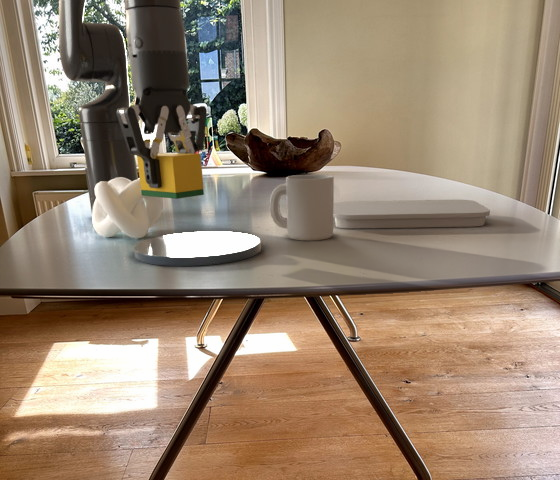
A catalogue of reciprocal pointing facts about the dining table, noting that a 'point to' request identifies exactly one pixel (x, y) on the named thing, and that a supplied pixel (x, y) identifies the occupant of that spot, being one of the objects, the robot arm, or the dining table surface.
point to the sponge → (175, 176)
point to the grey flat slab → (409, 214)
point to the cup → (305, 206)
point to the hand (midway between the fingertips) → (171, 184)
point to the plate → (197, 248)
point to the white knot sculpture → (124, 208)
